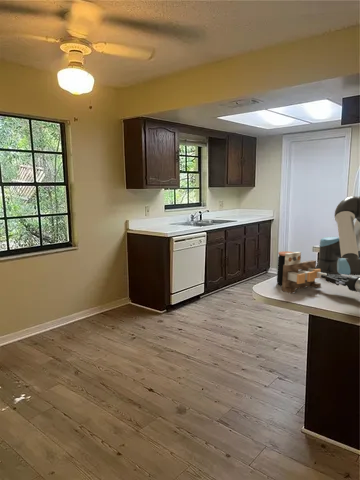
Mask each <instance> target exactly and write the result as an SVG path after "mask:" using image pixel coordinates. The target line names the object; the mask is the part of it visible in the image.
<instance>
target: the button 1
mask: <svg viewBox="0 0 360 480" xmlns="http://www.w3.org/2000/svg"><path fill="white" fill-rule="evenodd" d="M288 280H291V281H294V282H297V284H301V283H305V274H304V273H302V274H300V273H296V272H288Z"/></svg>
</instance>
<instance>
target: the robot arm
mask: <svg viewBox="0 0 360 480" xmlns="http://www.w3.org/2000/svg"><path fill="white" fill-rule="evenodd" d="M334 221H335V222H336V223H337V231H338V232H337V233H338V236H327V237H322V238H321V239H320V240H319V245H318V246H319V248H318V249H319V252H318V261H317V262H316V269H321V272H317V277H319V278H318V279H323V280H324V281H326V282H328V283H331V284H334V285H336V286H340V285H341V286H344V287H347V289H348V290H349V291H352V292H355V293H359V294H360V196H353V195H352V196H348V197H345V198H344V199H343V200H341V201H340V202H339V203H338V205H337V206H336V208H335V210H334ZM354 221H355V222H354ZM345 275H346V276H345Z"/></svg>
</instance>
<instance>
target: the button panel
mask: <svg viewBox="0 0 360 480" xmlns="http://www.w3.org/2000/svg"><path fill="white" fill-rule="evenodd" d="M292 252H293V253H285V265H283V281H282V285H281V291H283V292H285V293H288V294H294V293H296V290H299V289H303V288H308V287H313V288H316V289H317V288H321V286H322V283H321V282H316V280H315V281H311V282H307V280H305V283H301V284H297V282H294V281H291V280H288V272H290V271H291V272H296V273H298V270H305V271H308V268H313V269H316V266H317V260H314V259H313V260H305V261H302V260H301V259H302V252H301V251H292Z"/></svg>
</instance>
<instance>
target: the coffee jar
mask: <svg viewBox="0 0 360 480" xmlns="http://www.w3.org/2000/svg"><path fill="white" fill-rule="evenodd" d="M293 252H294V251H284V250H283V251H279V252H278V254H277V255H278V257H277V273H276V274H277V275H276V282H277V283H278V285H279V286H282V281H283V265H285V253H293ZM290 272H291V271H290Z"/></svg>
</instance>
